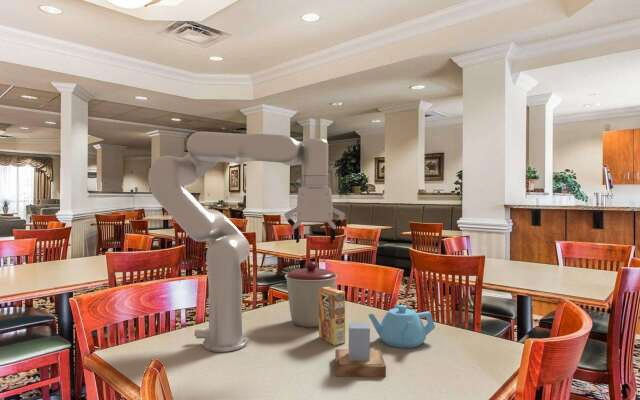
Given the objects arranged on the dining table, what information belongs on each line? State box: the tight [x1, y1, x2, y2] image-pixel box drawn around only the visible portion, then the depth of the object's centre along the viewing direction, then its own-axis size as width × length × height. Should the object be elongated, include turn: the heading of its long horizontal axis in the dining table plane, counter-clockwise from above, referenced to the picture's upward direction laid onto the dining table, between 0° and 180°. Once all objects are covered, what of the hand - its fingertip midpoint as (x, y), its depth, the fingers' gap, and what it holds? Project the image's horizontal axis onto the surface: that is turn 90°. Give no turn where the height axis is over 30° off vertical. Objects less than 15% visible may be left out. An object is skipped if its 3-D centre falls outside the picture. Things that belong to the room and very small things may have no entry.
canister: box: [284, 261, 339, 328], centre depth 144 cm, size 18×18×21 cm
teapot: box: [367, 304, 436, 349], centre depth 126 cm, size 15×15×11 cm
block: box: [348, 321, 371, 361], centre depth 106 cm, size 5×5×8 cm
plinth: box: [334, 348, 387, 378], centre depth 106 cm, size 12×11×3 cm
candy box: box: [318, 287, 346, 346], centre depth 127 cm, size 9×4×15 cm, turn 33°
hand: (314, 242), depth 120 cm, fingers open, 9 cm apart
